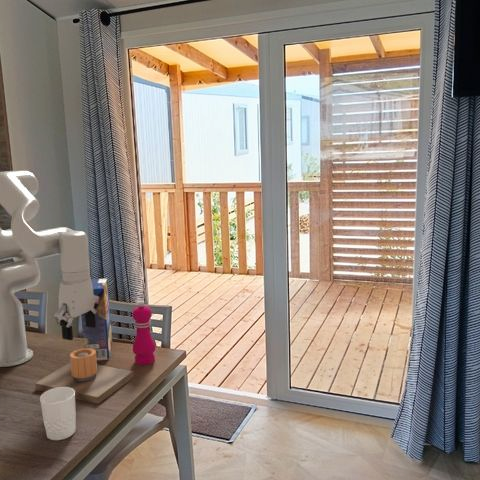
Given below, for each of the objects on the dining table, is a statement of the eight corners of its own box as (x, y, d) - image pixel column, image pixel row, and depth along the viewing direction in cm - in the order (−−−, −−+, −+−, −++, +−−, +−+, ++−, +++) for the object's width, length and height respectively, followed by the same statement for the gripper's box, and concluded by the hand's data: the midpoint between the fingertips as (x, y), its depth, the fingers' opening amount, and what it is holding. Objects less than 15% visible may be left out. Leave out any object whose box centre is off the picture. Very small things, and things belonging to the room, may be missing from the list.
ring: (66, 375, 140) (64, 356, 139) (82, 365, 146) (81, 346, 145) (86, 379, 137) (84, 359, 136) (102, 369, 144) (100, 350, 142)
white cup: (49, 424, 122) (45, 387, 120) (81, 422, 123) (78, 385, 121) (39, 443, 114) (35, 404, 112) (73, 441, 115) (70, 402, 113)
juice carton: (109, 359, 158) (103, 288, 154) (85, 361, 157) (79, 290, 152) (112, 344, 170) (107, 278, 165) (90, 346, 169) (84, 279, 164)
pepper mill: (151, 366, 152) (147, 305, 149) (129, 365, 154) (125, 304, 150) (159, 356, 159) (156, 298, 155) (138, 355, 161) (135, 297, 157)
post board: (35, 389, 139) (32, 360, 138) (74, 366, 154) (71, 339, 152) (98, 403, 131) (95, 372, 129) (132, 377, 146) (131, 349, 144)
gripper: (85, 266, 145) (89, 320, 149) (42, 282, 130) (47, 342, 133) (106, 269, 143) (109, 324, 146) (64, 285, 127) (69, 346, 130)
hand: (79, 332), depth 140 cm, fingers open, 9 cm apart
